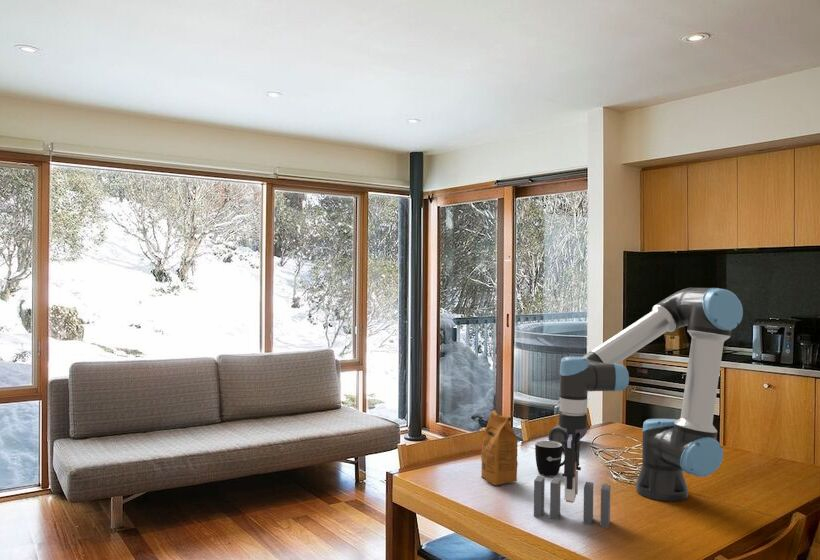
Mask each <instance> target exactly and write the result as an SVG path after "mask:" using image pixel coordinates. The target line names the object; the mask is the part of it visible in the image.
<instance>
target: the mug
mask: <svg viewBox="0 0 820 560" xmlns="http://www.w3.org/2000/svg"><path fill="white" fill-rule="evenodd" d="M534 445H535V446H534V447H535V451H534V452H535V462H536V463H535V465H536V468H537V472H538V474H539V475H540V476H544V475H545V477H555V476H558V475H559V472H560V469H561V467H562V466H563V467H564V460H563V461H562V456H563V455H562V454H563V452H564V453H565V449H564V448H562V444H561V443H558V442H555V441H549V440H538V441H536V442H535V444H534Z"/></svg>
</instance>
